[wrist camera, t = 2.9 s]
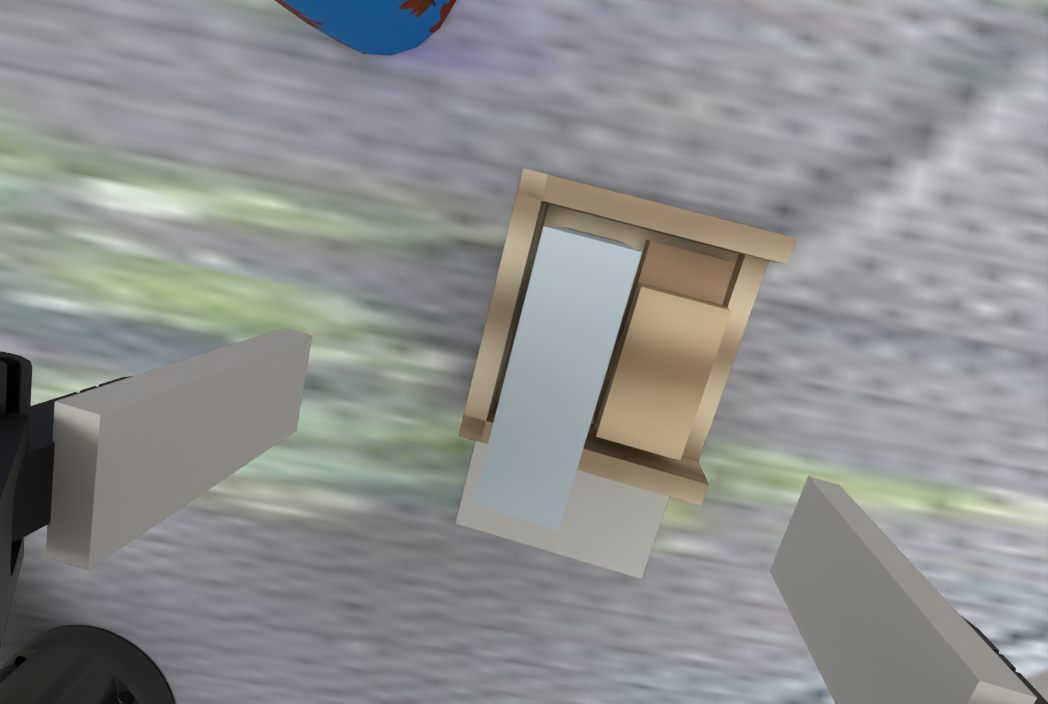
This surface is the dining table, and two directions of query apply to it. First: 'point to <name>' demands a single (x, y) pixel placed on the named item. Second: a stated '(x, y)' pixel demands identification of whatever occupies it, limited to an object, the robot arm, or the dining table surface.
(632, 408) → the offcut
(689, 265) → the offcut
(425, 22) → the thermos
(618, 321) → the pale blue block
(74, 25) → the dining table surface
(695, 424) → the box
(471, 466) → the mat
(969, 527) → the dining table surface
